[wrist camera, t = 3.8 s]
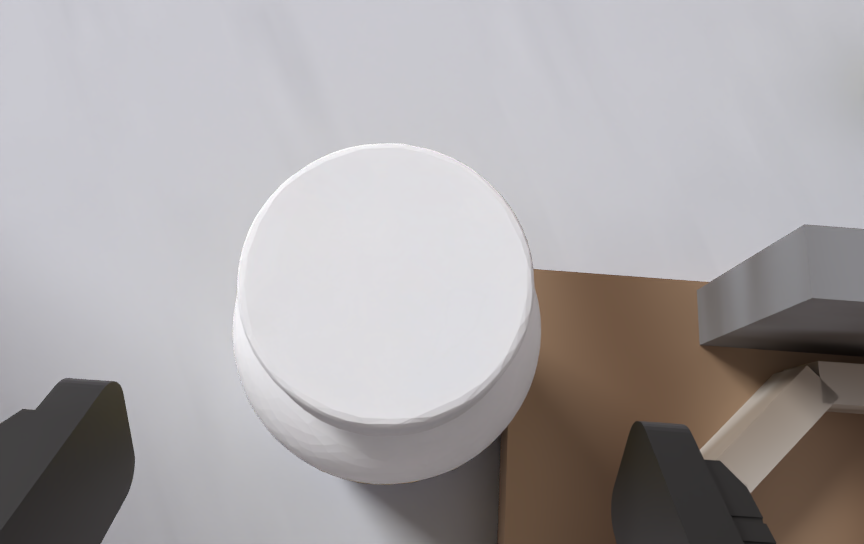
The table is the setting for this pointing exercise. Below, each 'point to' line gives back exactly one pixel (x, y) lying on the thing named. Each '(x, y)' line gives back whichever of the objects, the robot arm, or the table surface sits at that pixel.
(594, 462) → the socket board
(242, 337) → the supplement bottle
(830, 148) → the table surface
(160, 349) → the table surface
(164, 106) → the table surface
